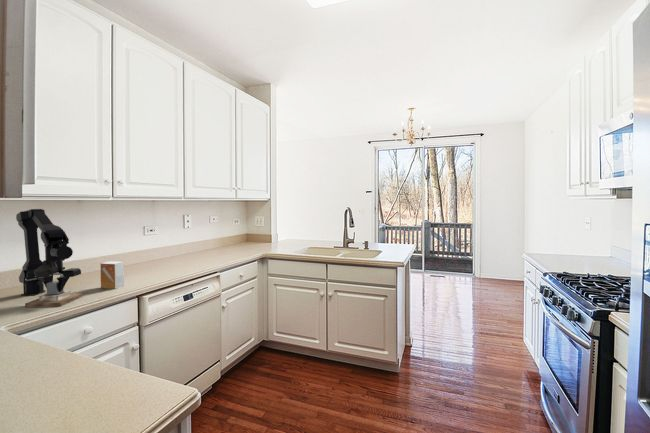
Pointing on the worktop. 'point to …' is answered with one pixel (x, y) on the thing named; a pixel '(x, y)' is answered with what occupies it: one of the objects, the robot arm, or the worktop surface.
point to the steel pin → (53, 288)
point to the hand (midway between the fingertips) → (55, 291)
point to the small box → (112, 274)
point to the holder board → (54, 300)
